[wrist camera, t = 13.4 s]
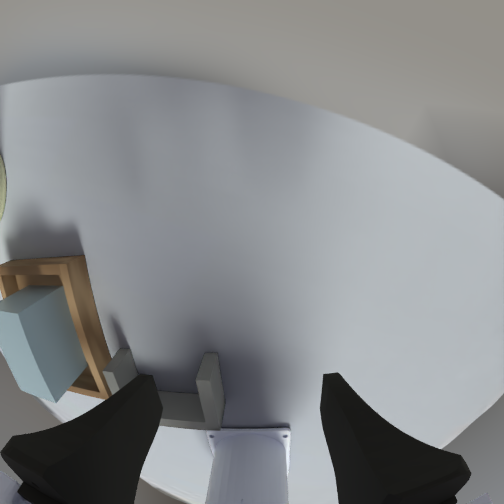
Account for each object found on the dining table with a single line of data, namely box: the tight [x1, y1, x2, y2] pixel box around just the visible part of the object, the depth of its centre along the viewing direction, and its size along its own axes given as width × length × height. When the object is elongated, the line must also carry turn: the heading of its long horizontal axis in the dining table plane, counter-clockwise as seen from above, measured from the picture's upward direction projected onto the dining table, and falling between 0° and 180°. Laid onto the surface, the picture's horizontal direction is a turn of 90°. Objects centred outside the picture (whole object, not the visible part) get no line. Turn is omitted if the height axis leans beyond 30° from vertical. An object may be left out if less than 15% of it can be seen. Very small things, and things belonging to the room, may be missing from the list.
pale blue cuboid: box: [0, 285, 88, 403], centre depth 18 cm, size 8×5×6 cm, turn 4°
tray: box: [0, 255, 112, 400], centre depth 20 cm, size 13×11×2 cm
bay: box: [103, 348, 225, 431], centre depth 20 cm, size 6×9×4 cm, turn 94°
